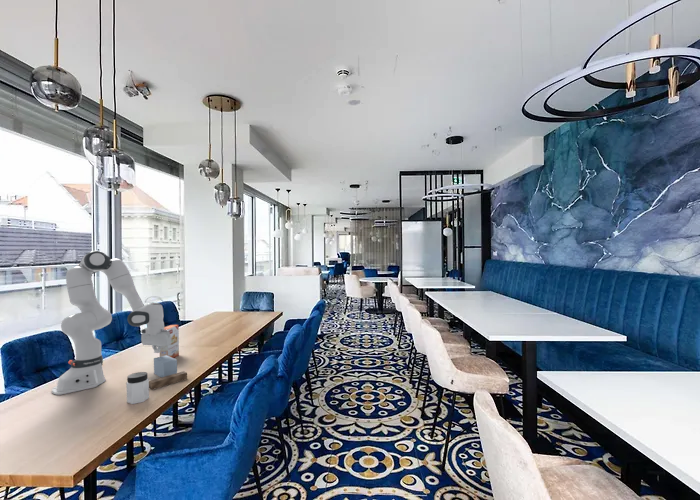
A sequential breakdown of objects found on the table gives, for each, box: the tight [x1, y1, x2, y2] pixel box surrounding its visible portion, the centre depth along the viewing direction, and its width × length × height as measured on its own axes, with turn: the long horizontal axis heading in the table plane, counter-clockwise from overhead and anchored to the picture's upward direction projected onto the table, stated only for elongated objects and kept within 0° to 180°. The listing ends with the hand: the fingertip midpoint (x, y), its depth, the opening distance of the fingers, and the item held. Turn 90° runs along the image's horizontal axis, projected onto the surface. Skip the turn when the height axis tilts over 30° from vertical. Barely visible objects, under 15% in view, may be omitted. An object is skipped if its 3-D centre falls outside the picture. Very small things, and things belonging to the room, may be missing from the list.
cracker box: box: [159, 324, 180, 359], centre depth 228 cm, size 14×6×21 cm, turn 179°
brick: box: [153, 355, 178, 378], centre depth 197 cm, size 7×14×9 cm, turn 50°
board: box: [149, 370, 188, 391], centre depth 183 cm, size 18×4×4 cm, turn 140°
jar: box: [125, 371, 150, 405], centre depth 163 cm, size 9×8×12 cm
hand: (157, 352), depth 205 cm, fingers closed
